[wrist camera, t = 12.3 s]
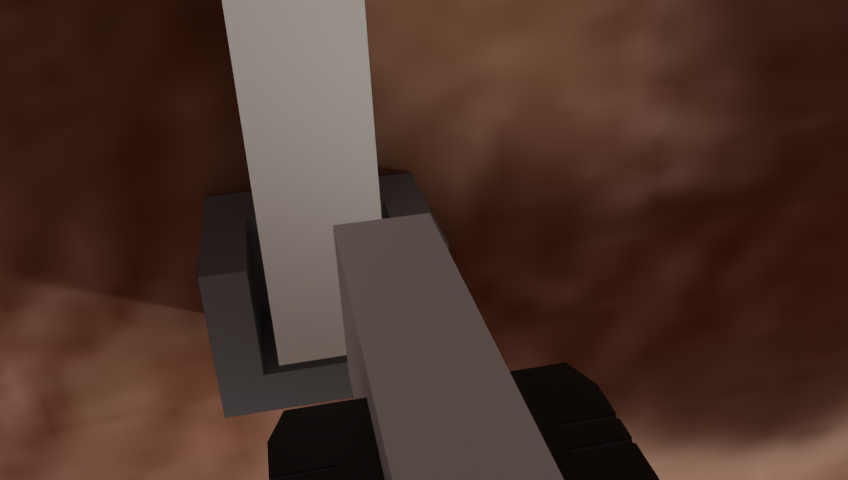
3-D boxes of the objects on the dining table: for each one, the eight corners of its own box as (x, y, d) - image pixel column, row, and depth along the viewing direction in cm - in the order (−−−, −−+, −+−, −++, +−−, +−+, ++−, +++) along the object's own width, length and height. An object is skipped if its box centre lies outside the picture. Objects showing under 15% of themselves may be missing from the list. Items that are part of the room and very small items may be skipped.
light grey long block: (365, 260, 30) (392, 348, 25) (272, 273, 30) (279, 365, 24) (320, -228, 23) (344, -250, 18) (196, -223, 23) (183, -244, 17)
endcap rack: (417, 291, 34) (453, 381, 29) (227, 318, 33) (224, 417, 27) (383, -332, 24) (427, -385, 19) (110, -328, 23) (67, -383, 17)
